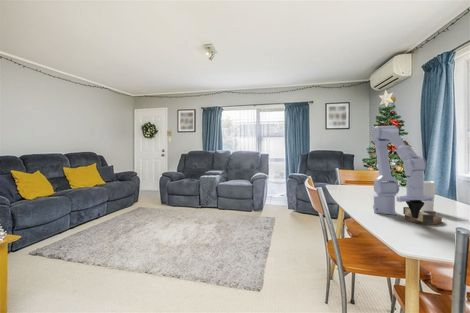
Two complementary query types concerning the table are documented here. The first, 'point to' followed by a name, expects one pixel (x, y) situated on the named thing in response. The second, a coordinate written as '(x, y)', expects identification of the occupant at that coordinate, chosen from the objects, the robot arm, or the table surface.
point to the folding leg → (419, 215)
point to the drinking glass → (428, 191)
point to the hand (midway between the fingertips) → (414, 217)
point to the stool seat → (436, 221)
